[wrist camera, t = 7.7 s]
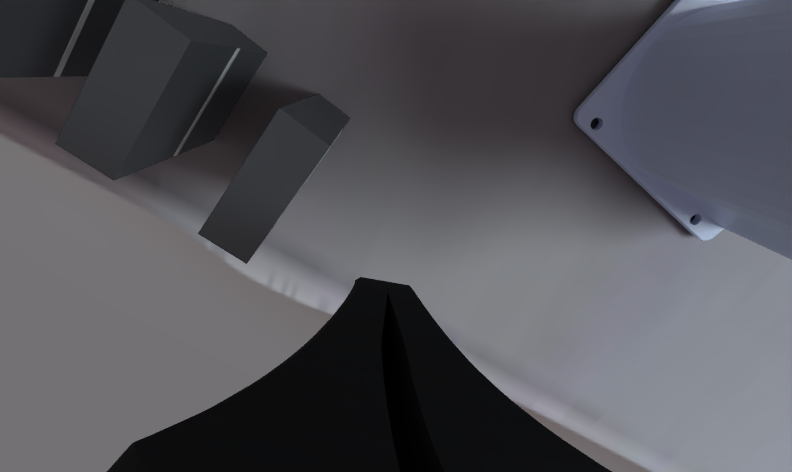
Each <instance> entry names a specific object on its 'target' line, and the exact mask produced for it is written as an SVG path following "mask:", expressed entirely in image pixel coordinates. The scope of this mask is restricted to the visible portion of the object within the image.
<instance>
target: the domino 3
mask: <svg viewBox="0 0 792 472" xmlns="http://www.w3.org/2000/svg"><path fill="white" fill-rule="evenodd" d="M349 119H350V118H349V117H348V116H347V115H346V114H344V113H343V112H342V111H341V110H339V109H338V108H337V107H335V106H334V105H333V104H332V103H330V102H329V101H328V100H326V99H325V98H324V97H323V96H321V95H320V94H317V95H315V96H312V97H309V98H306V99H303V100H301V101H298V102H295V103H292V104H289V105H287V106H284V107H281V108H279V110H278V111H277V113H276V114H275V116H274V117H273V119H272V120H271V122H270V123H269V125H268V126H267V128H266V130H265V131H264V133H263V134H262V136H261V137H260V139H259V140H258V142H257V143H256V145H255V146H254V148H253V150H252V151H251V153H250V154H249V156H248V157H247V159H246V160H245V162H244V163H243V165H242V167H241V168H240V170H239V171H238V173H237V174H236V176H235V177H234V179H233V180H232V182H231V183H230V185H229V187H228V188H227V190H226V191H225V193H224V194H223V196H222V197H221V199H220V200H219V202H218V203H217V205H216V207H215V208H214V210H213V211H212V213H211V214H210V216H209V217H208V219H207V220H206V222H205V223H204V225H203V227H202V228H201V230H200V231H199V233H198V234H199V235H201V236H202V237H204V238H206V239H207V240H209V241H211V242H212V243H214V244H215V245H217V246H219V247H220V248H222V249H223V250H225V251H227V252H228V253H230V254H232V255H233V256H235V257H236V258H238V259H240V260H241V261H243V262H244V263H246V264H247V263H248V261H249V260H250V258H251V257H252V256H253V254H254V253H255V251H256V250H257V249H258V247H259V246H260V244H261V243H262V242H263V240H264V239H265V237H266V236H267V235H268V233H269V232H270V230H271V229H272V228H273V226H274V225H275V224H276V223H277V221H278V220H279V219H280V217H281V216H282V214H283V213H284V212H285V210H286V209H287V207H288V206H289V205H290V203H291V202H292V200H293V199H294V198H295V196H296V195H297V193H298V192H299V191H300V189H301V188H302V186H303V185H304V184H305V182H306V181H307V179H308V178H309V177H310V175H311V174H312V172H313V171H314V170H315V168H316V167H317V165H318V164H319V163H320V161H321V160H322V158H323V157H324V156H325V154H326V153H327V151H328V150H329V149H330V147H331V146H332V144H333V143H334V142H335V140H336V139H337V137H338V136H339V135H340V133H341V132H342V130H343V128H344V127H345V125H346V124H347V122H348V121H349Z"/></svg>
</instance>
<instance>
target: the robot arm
mask: <svg viewBox="0 0 792 472" xmlns="http://www.w3.org/2000/svg"><path fill="white" fill-rule="evenodd" d="M573 118H574V122H575V124H576V125H577V126H578V127H579V128H580V129H581V130H582V131H583V132H584V133H585V134H586V135H587V136H589V137H590V138H591V139H592V140H593V141H594V142H595V143H596V144H597V145H598V146H599V147H600V148H601V149H602V150H603V151H604V152H605V153H606V154H608V155H609V156H610V157H611V158H612V159H613V160H614V161H615V162H616V163H617V164H618V165H619V166H620V167H621V168H622V169H623V170H624V171H625V172H627V173H628V174H629V175H630V176H631V177H632V178H633V179H634V180H635V181H636V182H637V183H638V184H639V185H640V186H641V187H642V188H643V189H644V190H646V191H647V192H648V193H649V194H650V195H651V196H652V197H653V198H654V199H655V200H656V201H657V202H658V203H659V204H660V205H661V206H662V207H663V208H665V209H666V210H667V211H668V212H669V213H670V214H671V215H672V216H673V217H674V218H675V219H676V220H677V221H678V222H679V223H680V224H681V225H683V226H684V227H685V228H686V229H687V230H688V231H689V232H690V233H691V234H692V235H693V236H694V237H696V238H698V239H699V240H701V241H708V240H710V239H712V238H714V237H715V236H716V235H717V234H718V233H719V232H720V231H722V230H723V229H724V228H725V229H727V230H729V231H731V232H733V233H736V234H738V235H740V236H742V237H744V238H746V239H749V240H751V241H753V242H755V243H757V244H759V245H762V246H764V247H766V248H768V249H770V250H772V251H774V252H777V253H779V254H781V255H783V256H785V257H787V258H790V259H792V0H675V1H674V2H673V3H672V4H671V5H670V6H669V7H668V8H667V10H666V11H665V12H664V13H663V14H662V15H661V16H660V17H659V18H658V19H657V21H656V22H655V23H654V24H653V25H652V26H651V27H650V28H649V29H648V31H647V32H646V33H645V34H644V35H643V36H642V37H641V38H640V39H639V40H638V42H637V43H636V44H635V45H634V46H633V47H632V48H631V49H630V50H629V51H628V53H627V54H626V55H625V56H624V57H623V58H622V59H621V60H620V61H619V62H618V64H617V65H616V66H615V67H614V68H613V69H612V70H611V71H610V72H609V74H608V75H607V76H606V77H605V78H604V79H603V80H602V81H601V82H600V83H599V85H598V86H597V87H596V88H595V89H594V90H593V91H592V92H591V93H590V94H589V96H588V97H587V98H586V99H585V100H584V101H583V102H582V103H581V104H580V105H579V107H578V108H577V109H576V111H575V112H574V117H573ZM595 118H597V119H598V125H597V127H595V128H594V129H592V128H591V122H592V120H593V119H595ZM693 215H695V218H694V220H692V221H691V222H690V219H691V217H692V216H693ZM107 472H612V471H610V470H608V469H607V468H605V467H603V466H602V465H600V464H599V463H597V462H595V461H594V460H593V459H591V458H590V457H588V456H587V455H585V454H584V453H582V452H581V451H579V450H578V449H576V448H575V447H573V446H571V445H570V444H568V443H567V442H566V441H564V440H562V439H561V438H560V437H558V436H557V435H556V434H554V433H553V432H552V431H550V430H549V429H547V428H546V427H544V426H543V425H542V424H540V423H539V422H538V421H537V420H535V419H534V418H533V417H532V416H530V415H529V414H528V413H527V412H525V411H524V410H522V409H521V408H520V407H519V406H518V405H516V404H515V403H514V402H513V401H511V400H510V399H509V398H508V397H507V396H506V395H504V394H503V393H502V392H501V391H500V390H499V389H498V388H497V387H495V386H494V385H493V384H492V383H491V382H490V381H489V380H488V379H487V378H486V377H485V376H484V375H483V374H482V373H481V372H479V371H478V370H477V369H476V368H475V367H474V366H473V365H472V363H471V362H470V361H469V360H468V359H467V358H466V357H465V356H464V355H463V354H462V353H461V352H460V350H459V349H458V348H457V347H456V346H455V345H454V344H453V343H452V341H451V340H450V339H449V338H448V337H447V335H446V334H445V333H444V332H443V330H442V329H441V328H440V327H439V325H438V324H437V323H436V321H435V320H434V319H433V318H432V316H431V315H430V313H429V312H428V311H427V309H426V308H425V307H424V305H423V304H422V302H421V301H420V299H419V298H418V297H417V295H416V294H415V292H414V291H413V289H412V288H411V287H410V286H409V285H403V284H398V283H392V282H386V281H380V280H375V279H369V278H363V277H360V278H358V279H357V280H355V284H354V286H353V288H352V290H351V292H350V294H349V295H348V297H347V298H346V300H345V301H344V302H343V304H342V305H341V306H340V308H339V309H338V310H337V311H336V313H335V314H334V315H333V316H332V317H331V319H330V320H329V321H328V322H327V323H326V324H325V325H324V326H323V327H322V328H321V329H320V330H319V331H318V332H317V334H316V335H314V336H313V338H311V339H310V340H309V341H308V342H307V343H306V344H305V345H304V346H303V347H301V348H300V349H299V350H298V351H297V352H295V353H294V354H293V355H292V356H291V357H289V358H288V359H287V360H285V361H284V362H283V363H282V364H280V365H279V366H277V367H276V368H275V369H273V370H272V371H271V372H269V373H268V374H266V375H265V376H263V377H262V378H261V379H259V380H258V381H256V382H254V383H253V384H251V385H250V386H248V387H246V388H244V389H243V390H241V391H239V392H237V393H236V394H234V395H232V396H231V397H229V398H227V399H225V400H224V401H222V402H220V403H218V404H217V405H215V406H213V407H211V408H209V409H207V410H205V411H203V412H201V413H199V414H197V415H195V416H193V417H190V418H188V419H186V420H184V421H182V422H180V423H177V424H175V425H173V426H171V427H168V428H166V429H164V430H162V431H159V432H157V433H155V434H153V435H151V436H148V437H146V438H143V439H141V440H138V441H136V442H134V443H132V444H131V445H130V446H129V447H128V449H127V450H126V451H125V452H124V453H123V454H122V455H121V457H119V459H118V460H117V461H116V462H115V463H114V464H113V465H112V467H111V468H110V469H109V470H108V471H107Z"/></svg>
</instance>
